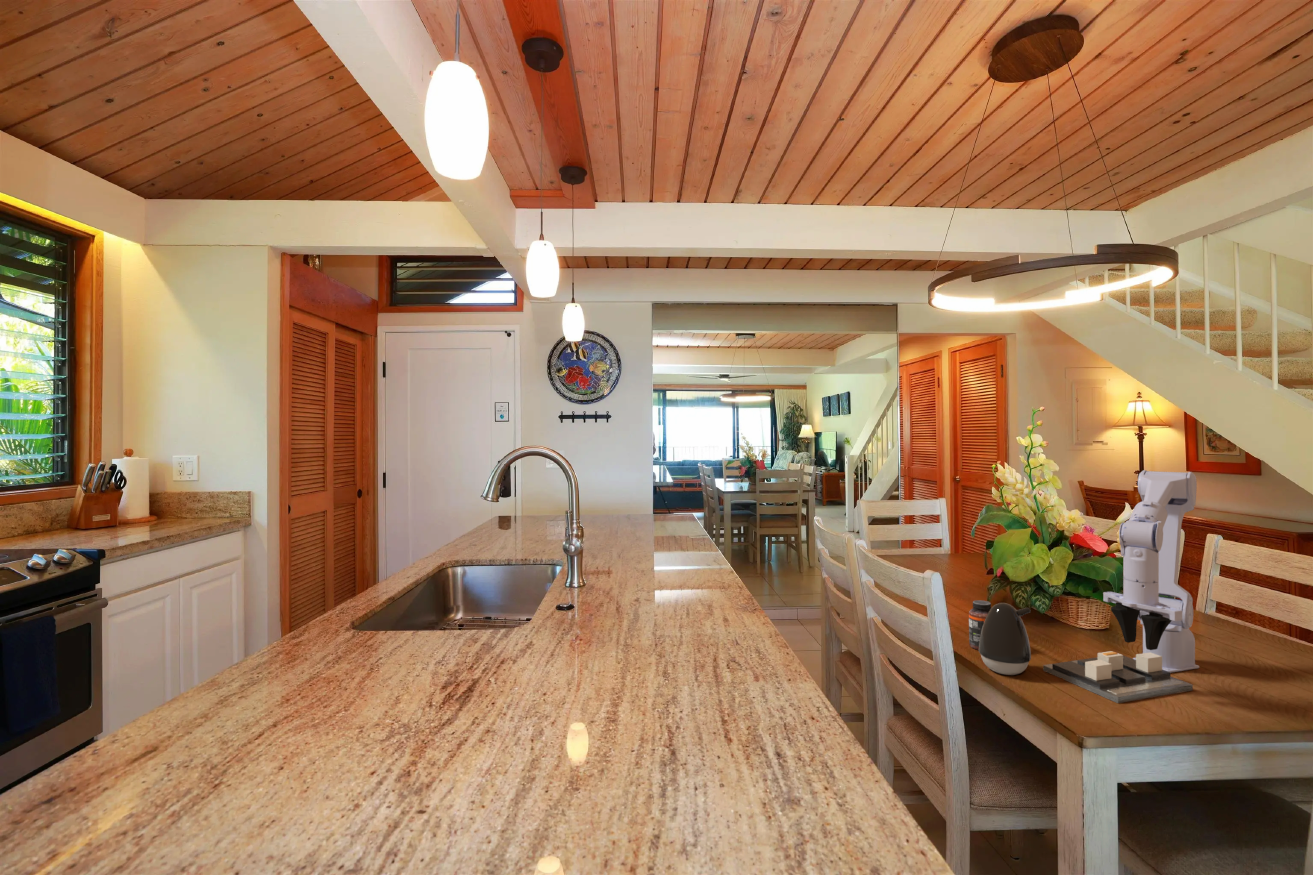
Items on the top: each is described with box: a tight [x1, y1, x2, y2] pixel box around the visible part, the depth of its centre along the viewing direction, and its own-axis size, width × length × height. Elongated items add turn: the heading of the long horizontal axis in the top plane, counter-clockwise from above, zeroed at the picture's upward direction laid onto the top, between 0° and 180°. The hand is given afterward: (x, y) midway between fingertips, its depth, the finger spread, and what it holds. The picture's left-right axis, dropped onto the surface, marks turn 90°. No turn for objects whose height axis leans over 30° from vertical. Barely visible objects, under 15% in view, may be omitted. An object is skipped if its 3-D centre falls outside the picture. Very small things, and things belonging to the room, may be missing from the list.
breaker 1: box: [1085, 660, 1111, 681], centre depth 129 cm, size 4×2×3 cm, turn 105°
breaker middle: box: [1097, 650, 1124, 671], centre depth 133 cm, size 4×2×3 cm, turn 105°
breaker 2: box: [1135, 652, 1162, 673], centre depth 132 cm, size 4×2×3 cm, turn 105°
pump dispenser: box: [978, 602, 1032, 676], centre depth 138 cm, size 10×10×15 cm
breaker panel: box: [1042, 655, 1194, 704], centre depth 132 cm, size 20×17×2 cm
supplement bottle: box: [968, 599, 992, 651], centre depth 152 cm, size 6×6×11 cm
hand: (1140, 645), depth 127 cm, fingers open, 4 cm apart
